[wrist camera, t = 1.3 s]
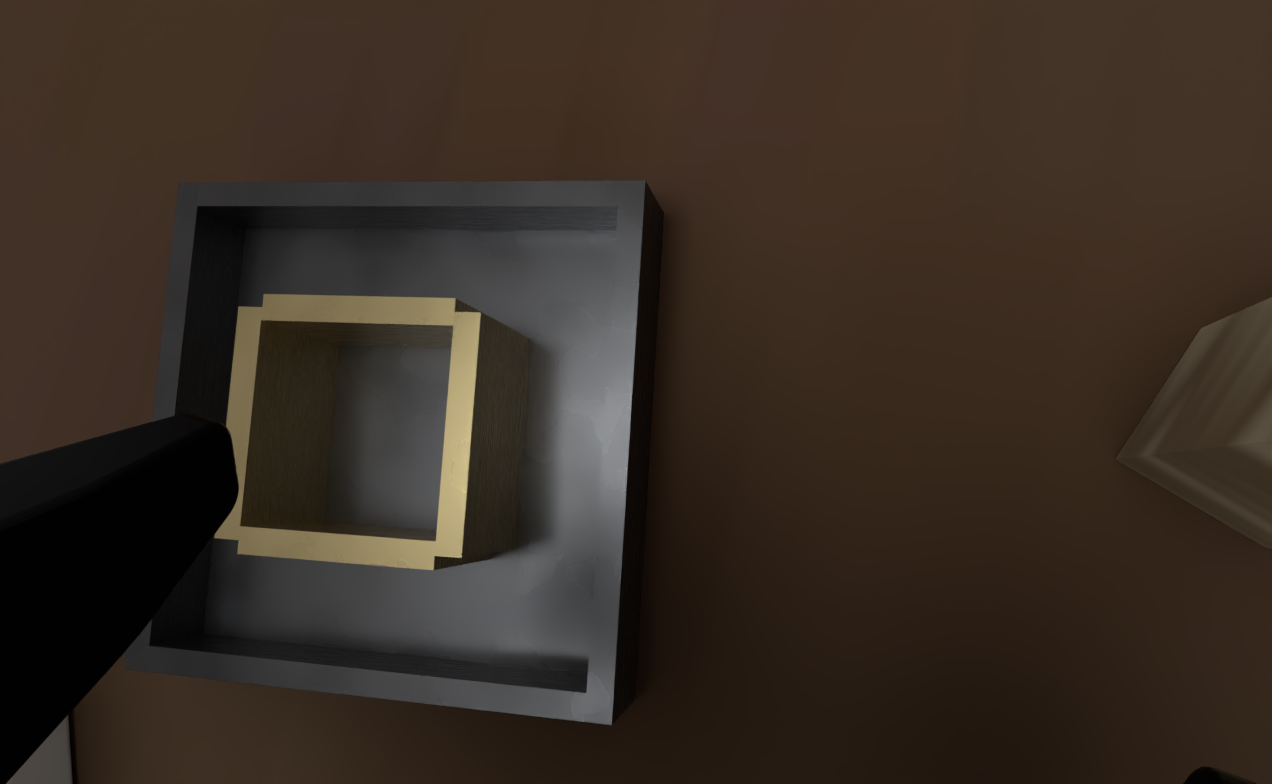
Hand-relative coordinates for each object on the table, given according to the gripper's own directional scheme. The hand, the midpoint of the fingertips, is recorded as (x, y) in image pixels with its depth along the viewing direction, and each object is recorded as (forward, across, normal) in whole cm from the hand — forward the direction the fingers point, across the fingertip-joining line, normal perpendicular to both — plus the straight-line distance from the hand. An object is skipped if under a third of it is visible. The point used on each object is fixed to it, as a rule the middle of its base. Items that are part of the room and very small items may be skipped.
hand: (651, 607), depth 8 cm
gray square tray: (+11, +9, +9) cm, 17 cm away
